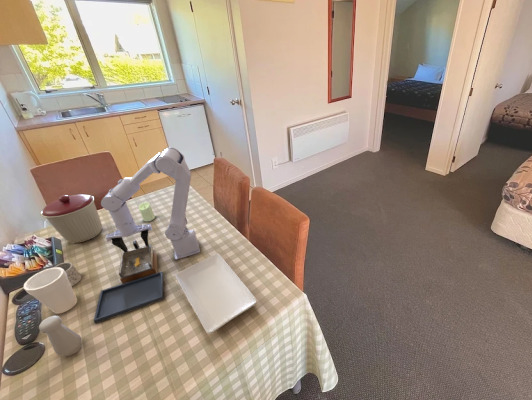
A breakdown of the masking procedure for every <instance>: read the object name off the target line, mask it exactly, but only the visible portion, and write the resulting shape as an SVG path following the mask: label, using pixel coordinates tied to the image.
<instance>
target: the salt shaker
mask: <svg viewBox="0 0 532 400" xmlns="http://www.w3.org/2000/svg"><path fill="white" fill-rule="evenodd" d="M38 329H39V331H40V333H42V334H46V335H47V338H48V340H49V342H50V345H51V347H52V349H53V351H54V353H55V354H56V355H57V356H62V357H70V356H72V355H75V354H76V353H77V352H78V351H79V350H80V349H81V348H82V341H83V340H82V339H83V338H82V336H81V335H80V334H79V333H77V332H76V331H74V330H72V328H70V327H68V326H66V325H65V324H63V320H62V318H61V317H60V316H59V315H52V316H48V317H47V318H45V319H43V320H42V321H41V322H40V323H39V326H38Z"/></svg>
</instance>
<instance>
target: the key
mask: <svg viewBox="0 0 532 400" xmlns="http://www.w3.org/2000/svg"><path fill="white" fill-rule="evenodd" d="M134 265H135V266H139V265H140V257H139V258H136V263H135V264H134Z"/></svg>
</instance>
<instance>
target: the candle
mask: <svg viewBox="0 0 532 400" xmlns="http://www.w3.org/2000/svg"><path fill="white" fill-rule="evenodd" d="M138 210H139V212H140V215H141V217H142V220H143V221H144V222H151V221H153V220H154V219H155V218H156V216H155V214H154V210H153V208H152V205H151V204H150V202H148V201H145V202H142V203H141V204H140V205H139V206H138Z"/></svg>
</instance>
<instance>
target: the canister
mask: <svg viewBox="0 0 532 400" xmlns="http://www.w3.org/2000/svg"><path fill="white" fill-rule="evenodd" d="M39 215H40V216H41V217H42V218H44V219H46V220H47V222H48V223H49V224H50V225H51V226H52V227H53V228H54V229H55V231H56V232H57V233H58V234H59V235H60V236H61V237H62V238H63V239H64V240H65V241H67V242H69V243H73V244H77V243H83V242H87V241H90V240H92V239H94V238H95V237H97V236H98V235H99V234H101V232H102V230H103V224H102V221H101V218H100V215H99V212H98V210H97V207H96V203H95V197H94V196H93V195H91V194H73V195H68V194H63V195H60V196H59V197H58V199H55V200H54V201H51V202H50V203H48V204H46V205H45V206H44V207H43V208H42V209H41V211H40V212H39Z"/></svg>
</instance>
